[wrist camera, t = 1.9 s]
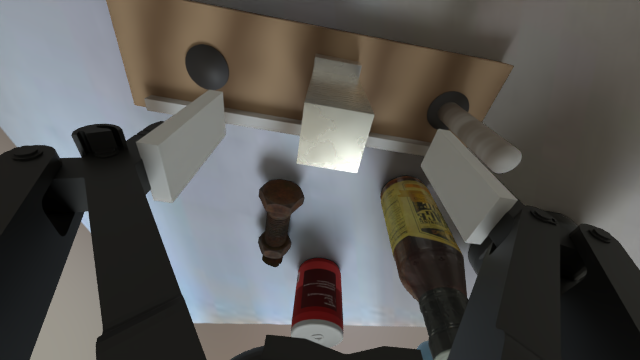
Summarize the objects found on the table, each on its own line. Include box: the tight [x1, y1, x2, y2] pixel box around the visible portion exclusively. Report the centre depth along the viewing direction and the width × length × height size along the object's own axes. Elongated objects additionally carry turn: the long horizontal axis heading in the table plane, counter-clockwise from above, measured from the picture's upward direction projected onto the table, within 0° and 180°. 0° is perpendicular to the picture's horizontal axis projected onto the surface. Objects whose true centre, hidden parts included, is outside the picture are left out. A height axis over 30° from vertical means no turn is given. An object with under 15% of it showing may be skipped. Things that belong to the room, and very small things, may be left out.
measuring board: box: [106, 0, 522, 173], centre depth 21 cm, size 36×10×12 cm, turn 81°
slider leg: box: [297, 54, 375, 173], centre depth 19 cm, size 4×6×11 cm, turn 171°
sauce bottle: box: [381, 176, 469, 360], centre depth 25 cm, size 6×6×20 cm
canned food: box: [291, 258, 343, 348], centre depth 40 cm, size 8×8×11 cm
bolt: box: [258, 179, 304, 267], centre depth 35 cm, size 6×5×15 cm
